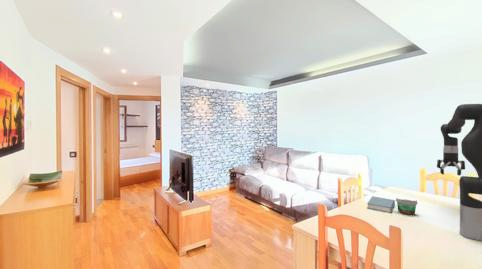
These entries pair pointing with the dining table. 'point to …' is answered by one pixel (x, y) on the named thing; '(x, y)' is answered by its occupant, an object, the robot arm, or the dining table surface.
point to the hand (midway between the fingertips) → (450, 174)
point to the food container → (406, 206)
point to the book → (381, 204)
